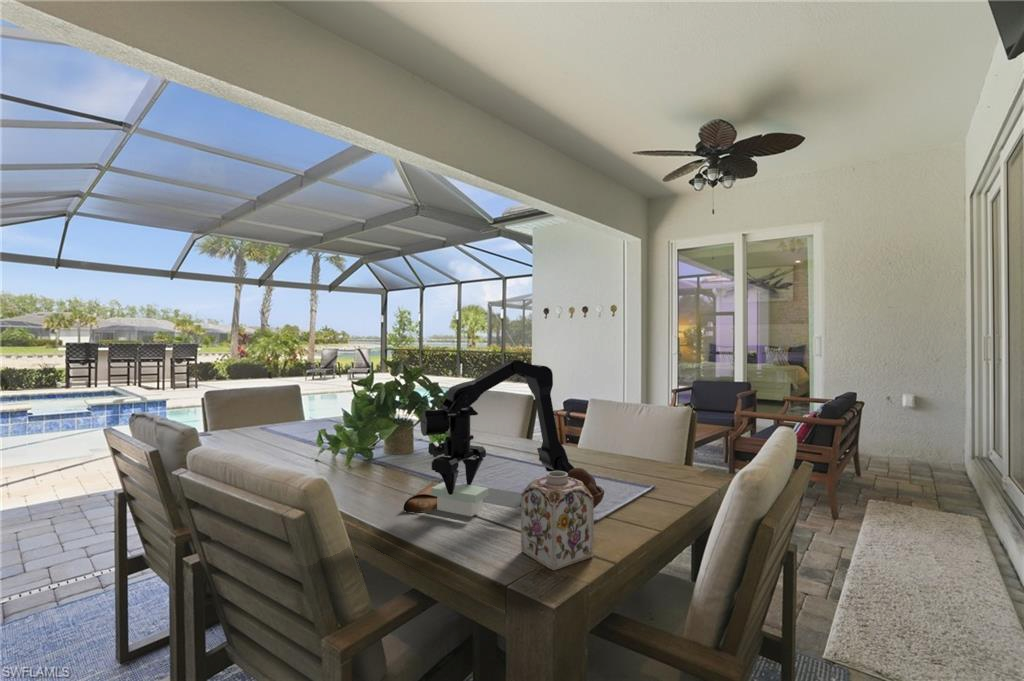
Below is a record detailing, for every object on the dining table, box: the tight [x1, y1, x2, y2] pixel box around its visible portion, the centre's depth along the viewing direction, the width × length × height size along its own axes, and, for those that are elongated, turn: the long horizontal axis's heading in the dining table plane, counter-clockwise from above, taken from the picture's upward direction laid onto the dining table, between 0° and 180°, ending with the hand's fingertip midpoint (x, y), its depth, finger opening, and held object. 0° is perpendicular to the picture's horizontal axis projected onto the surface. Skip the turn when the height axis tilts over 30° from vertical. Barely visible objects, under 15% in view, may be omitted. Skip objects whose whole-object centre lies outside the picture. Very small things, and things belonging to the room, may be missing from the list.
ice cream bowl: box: [567, 467, 605, 510], centre depth 122 cm, size 11×11×15 cm
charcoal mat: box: [480, 486, 522, 509], centre depth 144 cm, size 18×12×1 cm, turn 63°
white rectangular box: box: [436, 496, 484, 517], centre depth 133 cm, size 11×6×4 cm, turn 63°
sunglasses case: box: [403, 481, 437, 514], centre depth 140 cm, size 18×7×7 cm
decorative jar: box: [520, 471, 595, 571], centre depth 107 cm, size 12×12×18 cm
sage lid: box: [431, 481, 489, 503], centre depth 133 cm, size 14×7×2 cm, turn 63°
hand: (460, 489), depth 133 cm, fingers open, 9 cm apart
